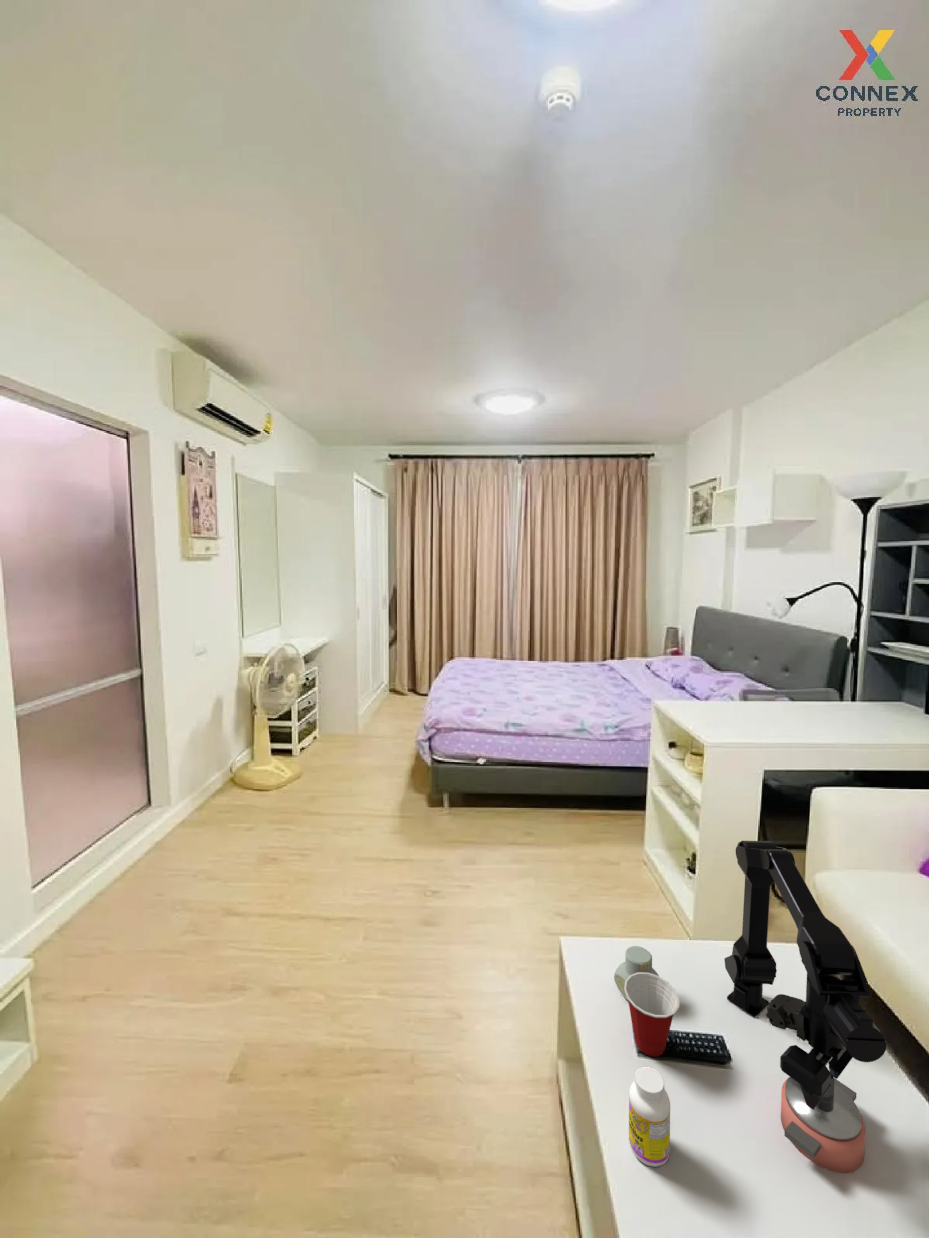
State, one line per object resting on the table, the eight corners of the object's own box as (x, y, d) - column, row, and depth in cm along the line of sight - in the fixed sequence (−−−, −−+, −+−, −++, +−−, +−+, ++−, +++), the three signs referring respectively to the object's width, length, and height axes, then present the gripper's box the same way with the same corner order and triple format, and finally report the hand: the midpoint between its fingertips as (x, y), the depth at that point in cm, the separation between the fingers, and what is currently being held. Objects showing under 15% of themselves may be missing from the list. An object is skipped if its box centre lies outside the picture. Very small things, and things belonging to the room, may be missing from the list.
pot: (805, 1079, 102) (806, 1055, 101) (881, 1133, 92) (882, 1107, 92) (760, 1134, 92) (761, 1108, 92) (839, 1200, 83) (841, 1171, 82)
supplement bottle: (622, 1129, 94) (622, 1062, 93) (658, 1125, 94) (659, 1058, 93) (638, 1171, 87) (638, 1100, 86) (677, 1166, 88) (677, 1095, 87)
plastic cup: (656, 1079, 103) (657, 1022, 102) (612, 1039, 112) (612, 986, 111) (690, 1050, 109) (691, 996, 108) (646, 1014, 118) (646, 964, 117)
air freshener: (669, 1005, 120) (670, 964, 119) (640, 1018, 117) (640, 975, 116) (636, 972, 130) (636, 934, 129) (609, 983, 127) (609, 944, 126)
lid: (802, 1066, 99) (803, 1036, 99) (872, 1115, 90) (874, 1082, 90) (773, 1100, 93) (774, 1069, 93) (845, 1156, 84) (846, 1121, 84)
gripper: (799, 956, 102) (797, 1031, 103) (749, 1002, 91) (747, 1085, 93) (868, 993, 93) (864, 1074, 94) (821, 1049, 82) (818, 1140, 84)
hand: (822, 1091), depth 92 cm, fingers open, 9 cm apart
